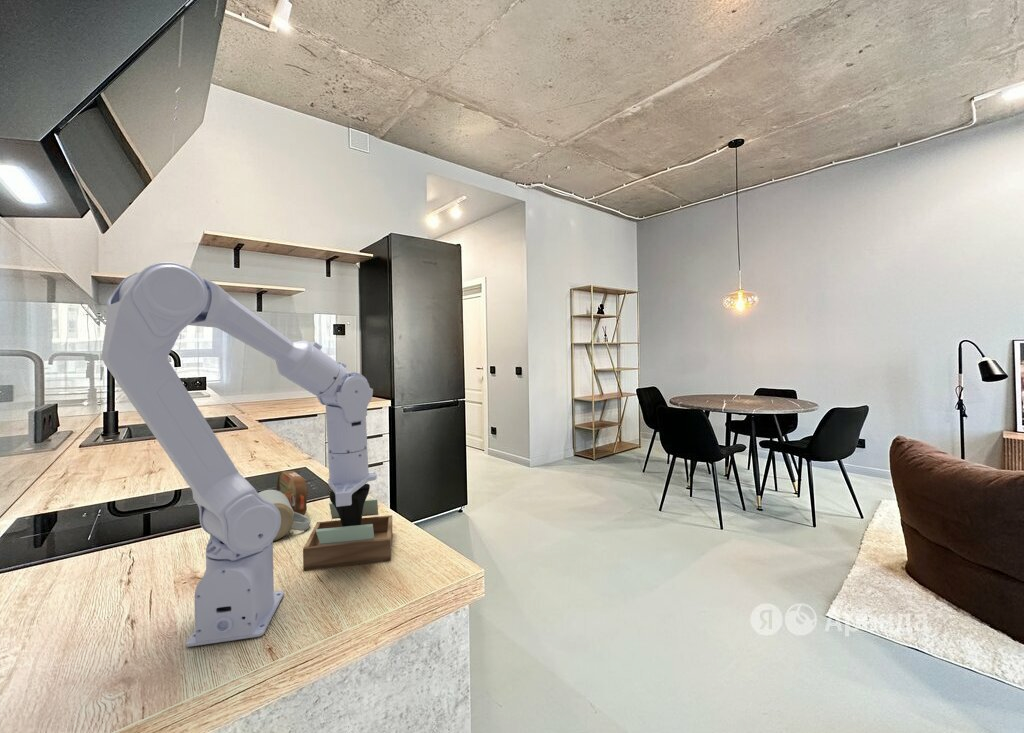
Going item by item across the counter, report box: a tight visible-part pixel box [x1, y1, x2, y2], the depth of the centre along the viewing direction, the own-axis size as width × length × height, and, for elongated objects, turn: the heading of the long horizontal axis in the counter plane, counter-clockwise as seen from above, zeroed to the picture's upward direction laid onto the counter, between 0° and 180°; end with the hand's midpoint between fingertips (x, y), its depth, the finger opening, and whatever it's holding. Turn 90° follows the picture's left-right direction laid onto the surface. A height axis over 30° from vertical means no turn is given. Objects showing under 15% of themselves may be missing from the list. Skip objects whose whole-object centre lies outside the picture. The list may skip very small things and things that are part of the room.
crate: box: [302, 515, 393, 572], centre depth 73 cm, size 11×13×3 cm
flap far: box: [329, 497, 379, 520], centre depth 77 cm, size 8×4×1 cm
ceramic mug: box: [257, 489, 311, 542], centre depth 80 cm, size 11×8×8 cm
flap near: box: [316, 524, 374, 545], centre depth 66 cm, size 8×4×1 cm
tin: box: [276, 470, 309, 516], centre depth 91 cm, size 15×3×8 cm, turn 41°
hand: (352, 534), depth 67 cm, fingers closed, pressing on flap near
